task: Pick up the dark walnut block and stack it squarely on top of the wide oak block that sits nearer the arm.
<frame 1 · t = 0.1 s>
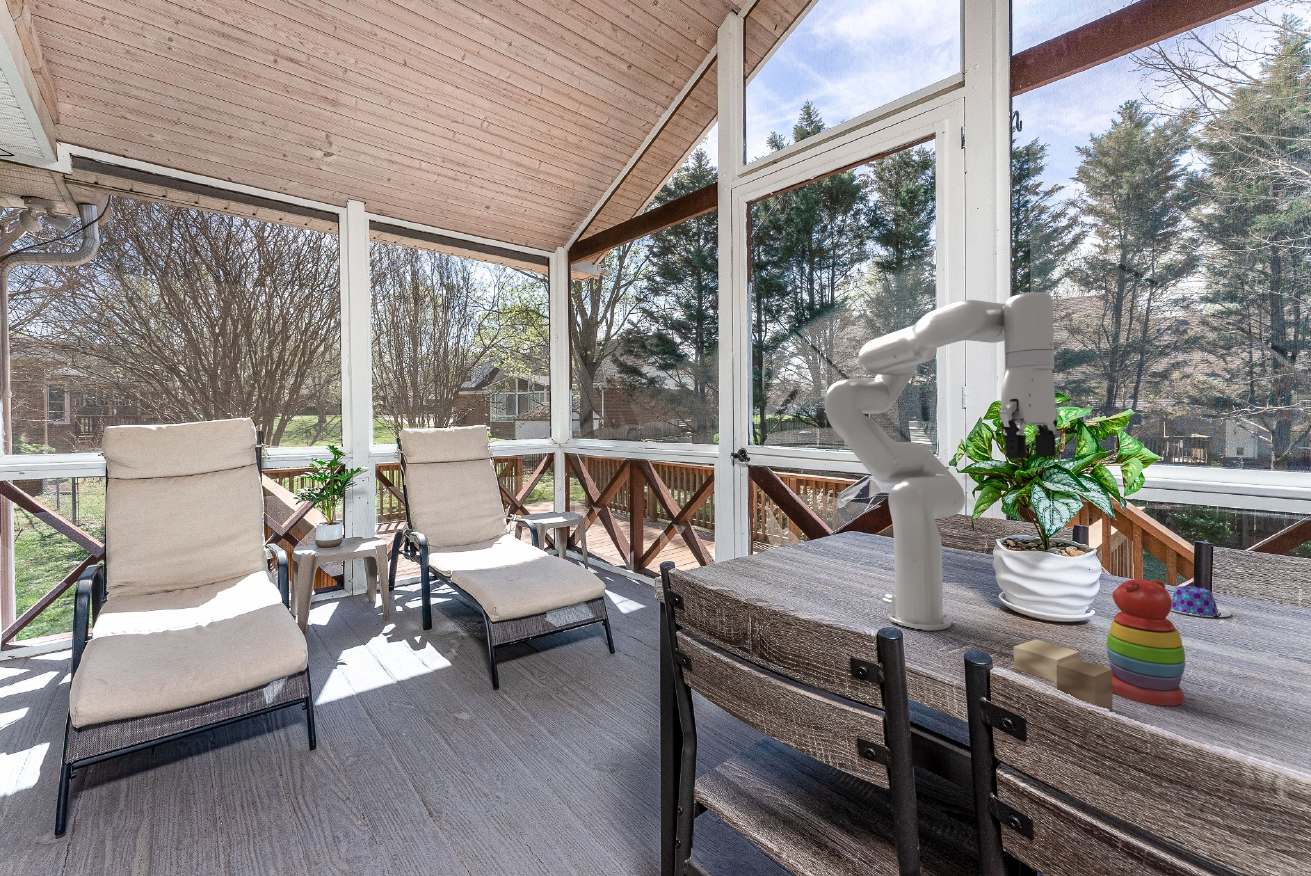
hand: (1031, 456, 105), 37 cm above the table, tool pointing down, fingers open, 9 cm apart
walnut block: (1084, 706, 86), on the table
stacking bear: (1143, 693, 91), on the table
oak block: (1046, 672, 99), on the table
blue patterned hat: (1193, 612, 130), on the table
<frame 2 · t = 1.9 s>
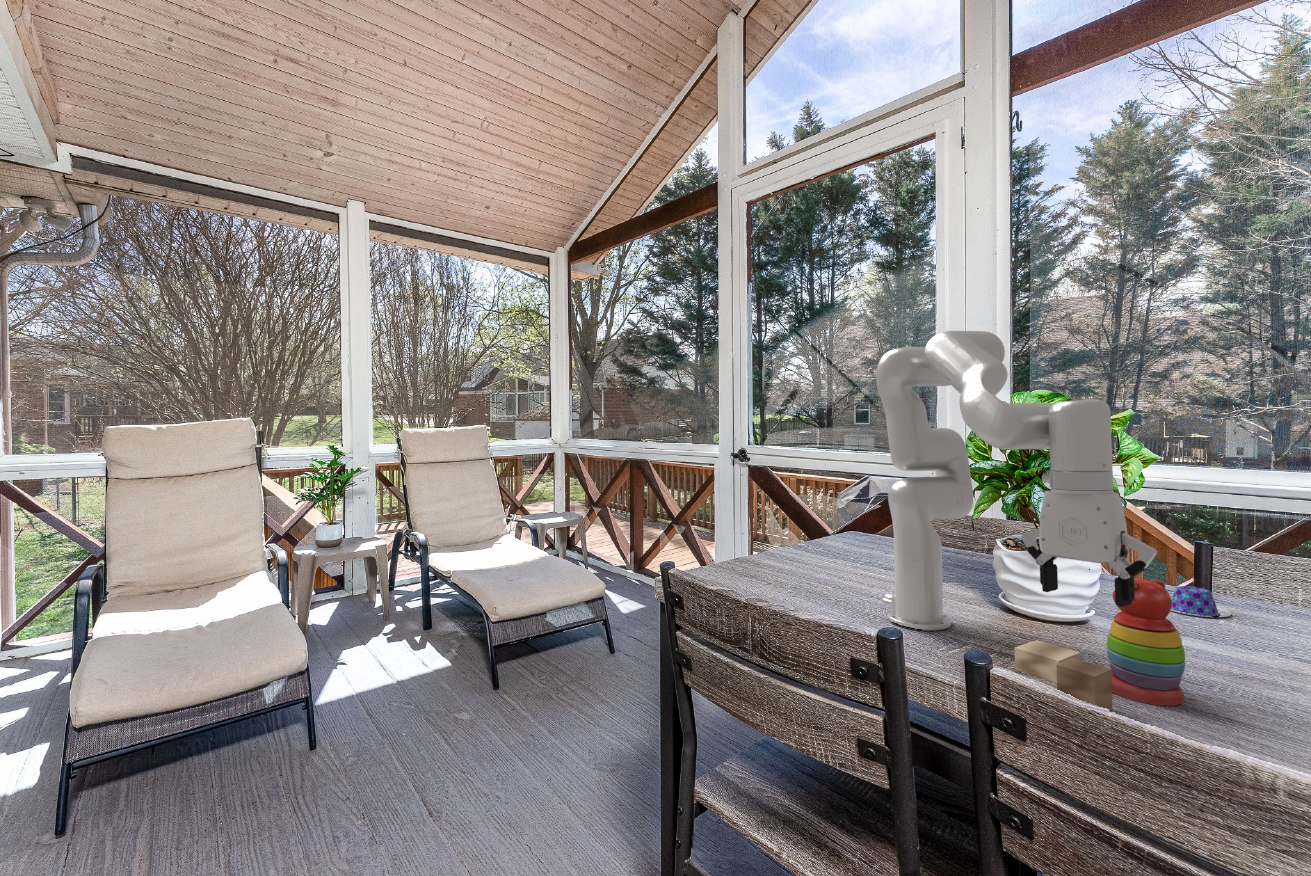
hand: (1085, 597, 86), 16 cm above the table, tool pointing down, fingers open, 9 cm apart
nothing on the table moved.
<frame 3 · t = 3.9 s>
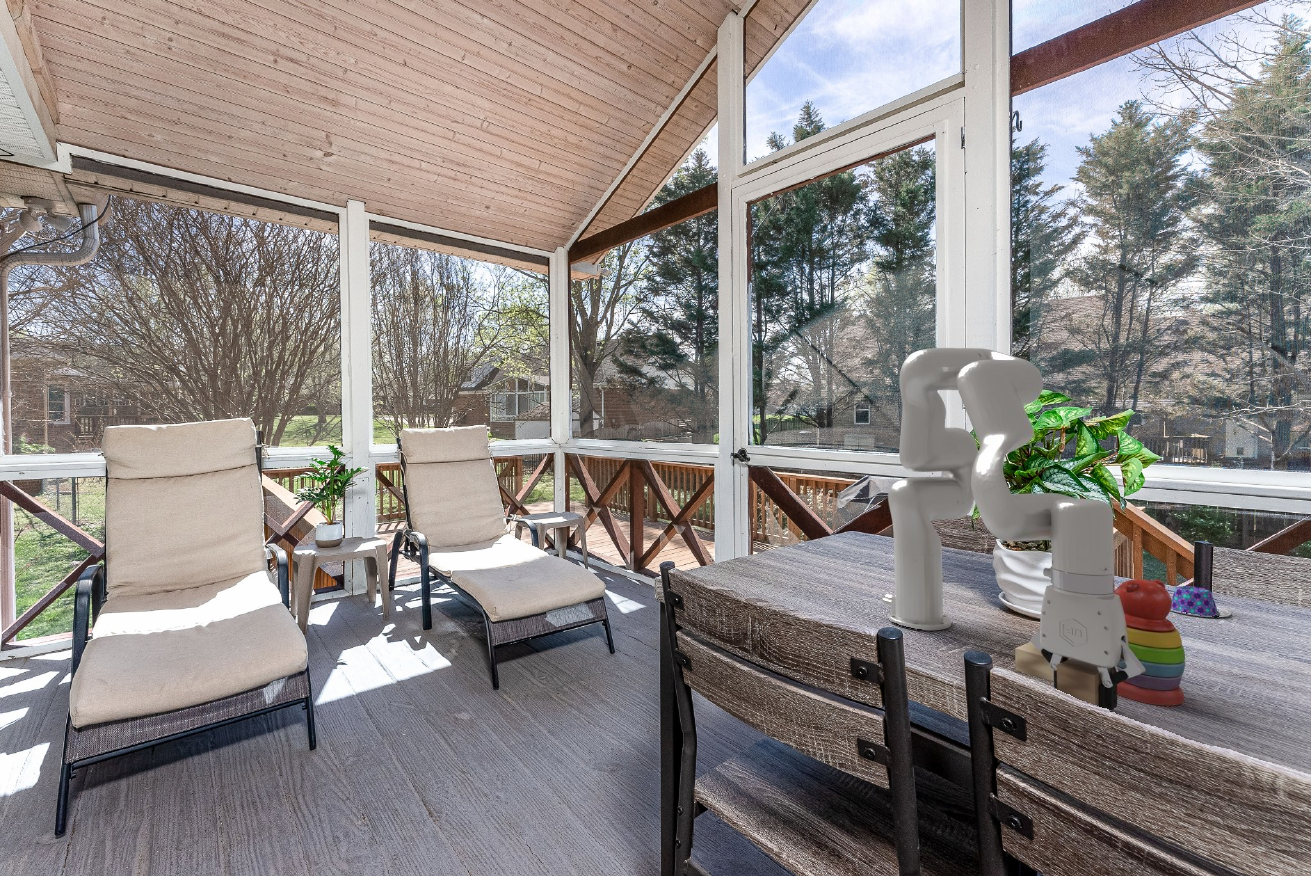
hand: (1084, 701, 86), 1 cm above the table, tool pointing down, fingers closed on walnut block, 5 cm apart
walnut block: (1084, 706, 86), on the table, touching gripper
everything else where it was.
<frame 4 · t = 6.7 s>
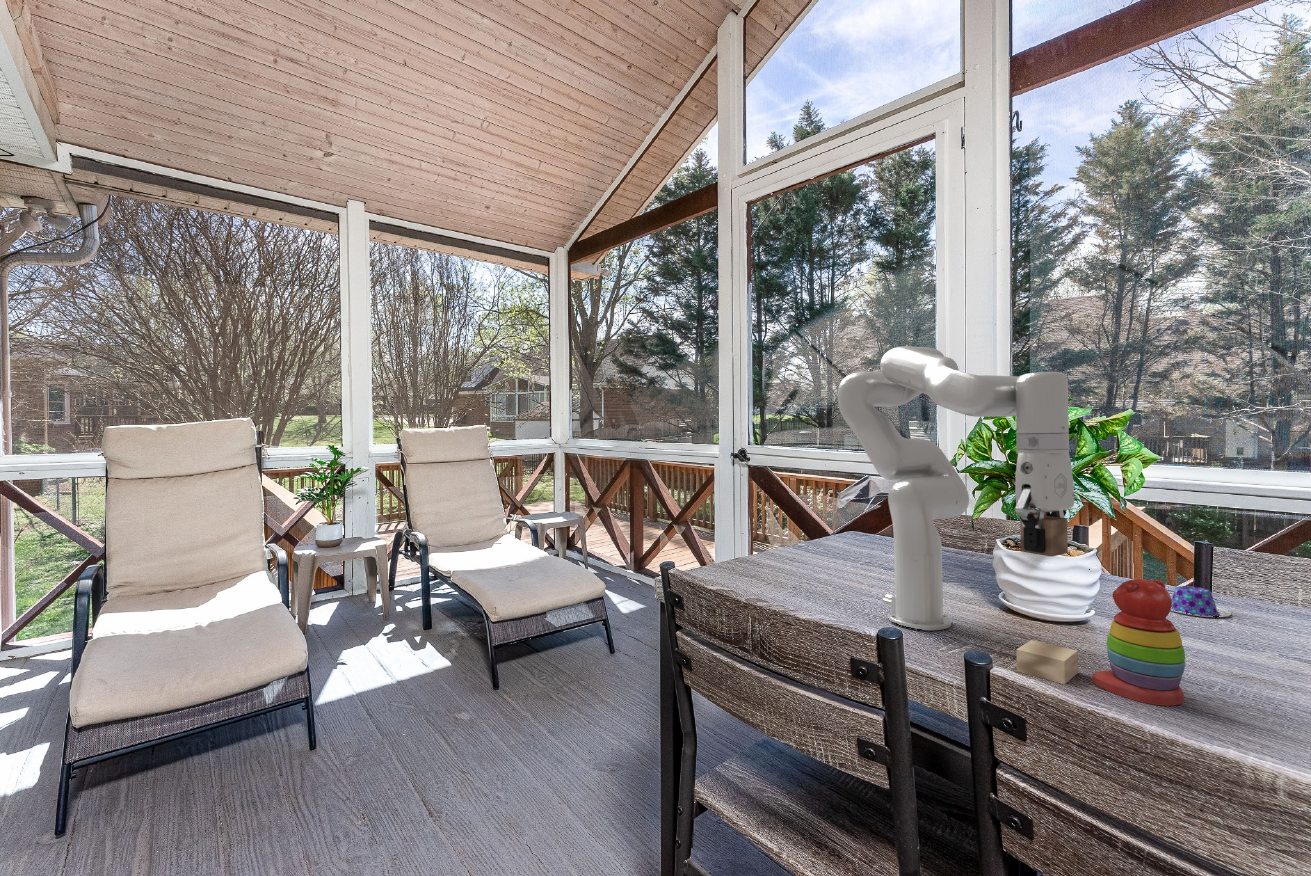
hand: (1043, 548, 99), 21 cm above the table, tool pointing down, fingers closed on walnut block, 5 cm apart
walnut block: (1043, 552, 99), point 20 cm above the table, touching gripper
everything else where it was.
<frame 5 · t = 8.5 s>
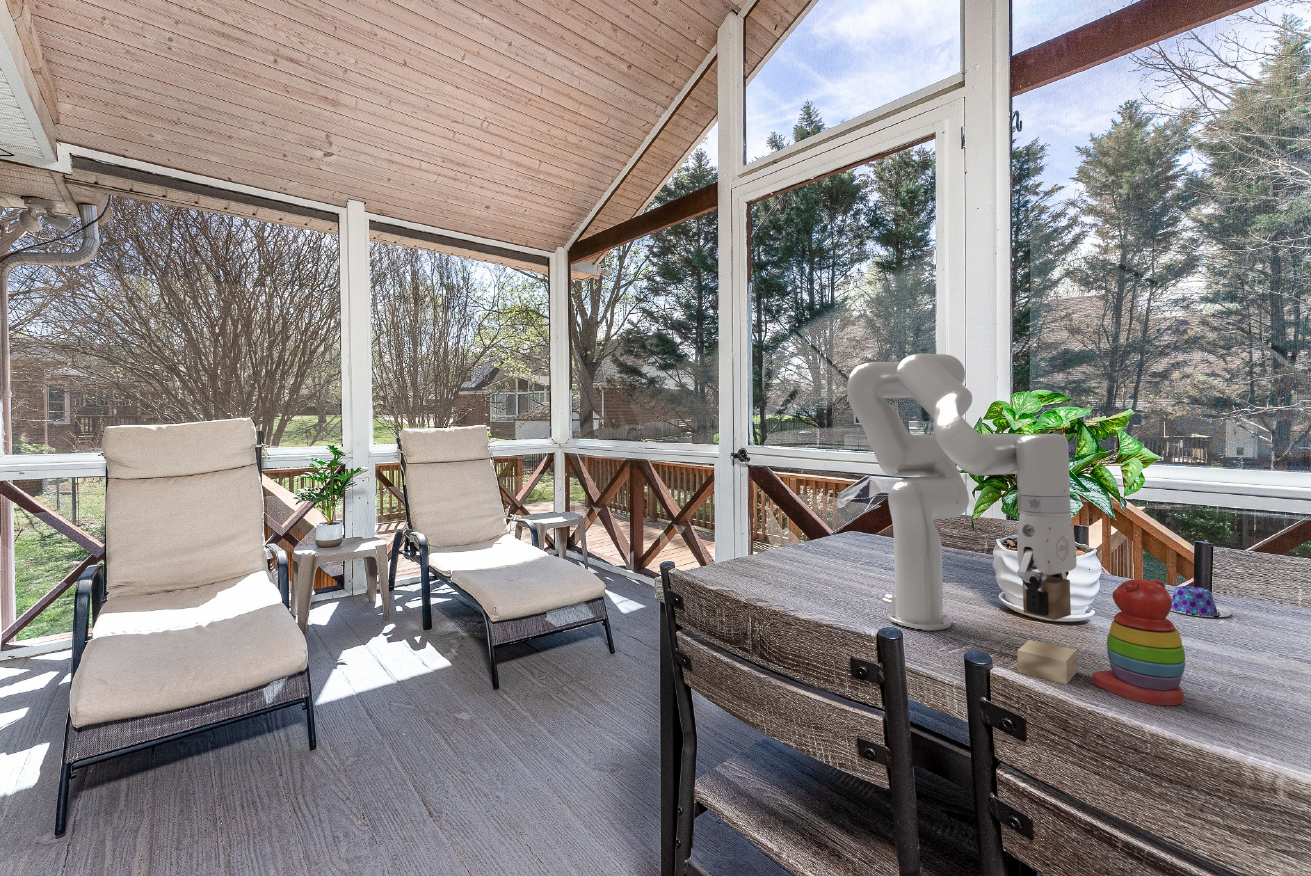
hand: (1046, 609, 99), 11 cm above the table, tool pointing down, fingers closed on walnut block, 5 cm apart
walnut block: (1046, 613, 99), point 10 cm above the table, touching gripper
everything else where it was.
when the fingers open (6 cm above the table, at t = 9.9 s): walnut block drops 1 cm, point 4 cm above the table.
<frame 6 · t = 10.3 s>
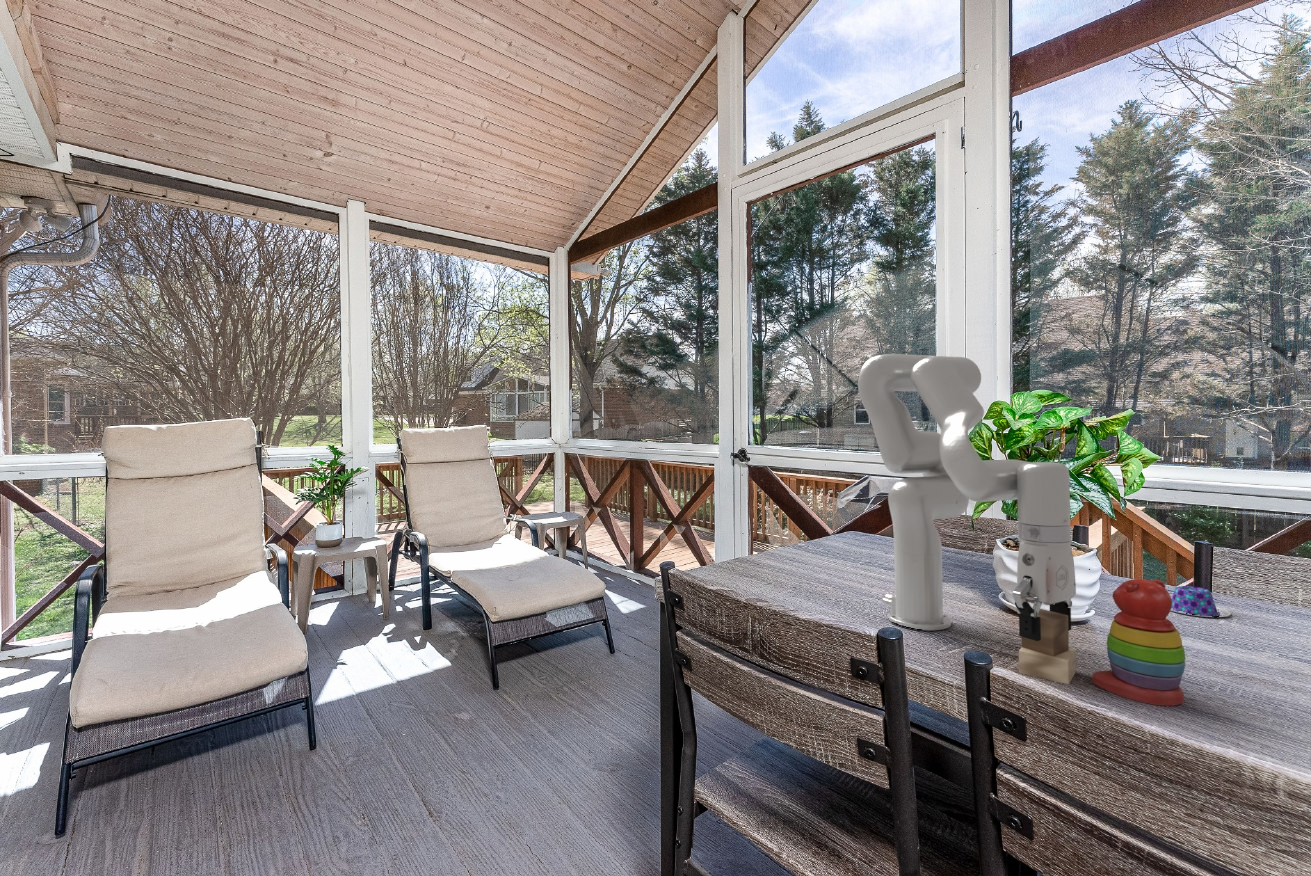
hand: (1045, 633, 99), 6 cm above the table, tool pointing down, fingers open, 9 cm apart
walnut block: (1045, 648, 99), point 4 cm above the table
everything else where it was.
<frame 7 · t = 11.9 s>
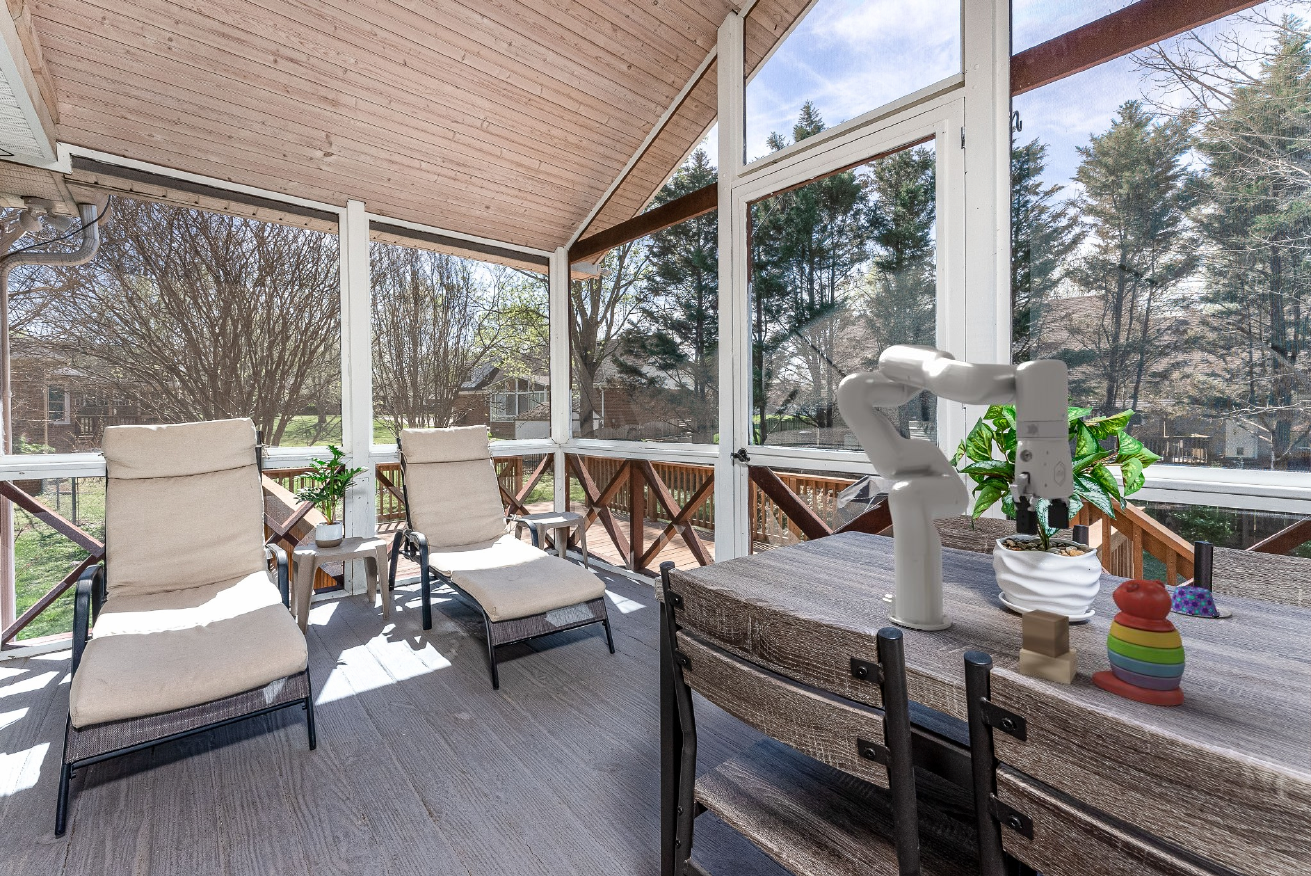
hand: (1043, 531, 99), 24 cm above the table, tool pointing down, fingers open, 9 cm apart
walnut block: (1045, 650, 99), point 4 cm above the table, touching oak block
oak block: (1048, 673, 99), on the table, touching walnut block
everything else where it was.
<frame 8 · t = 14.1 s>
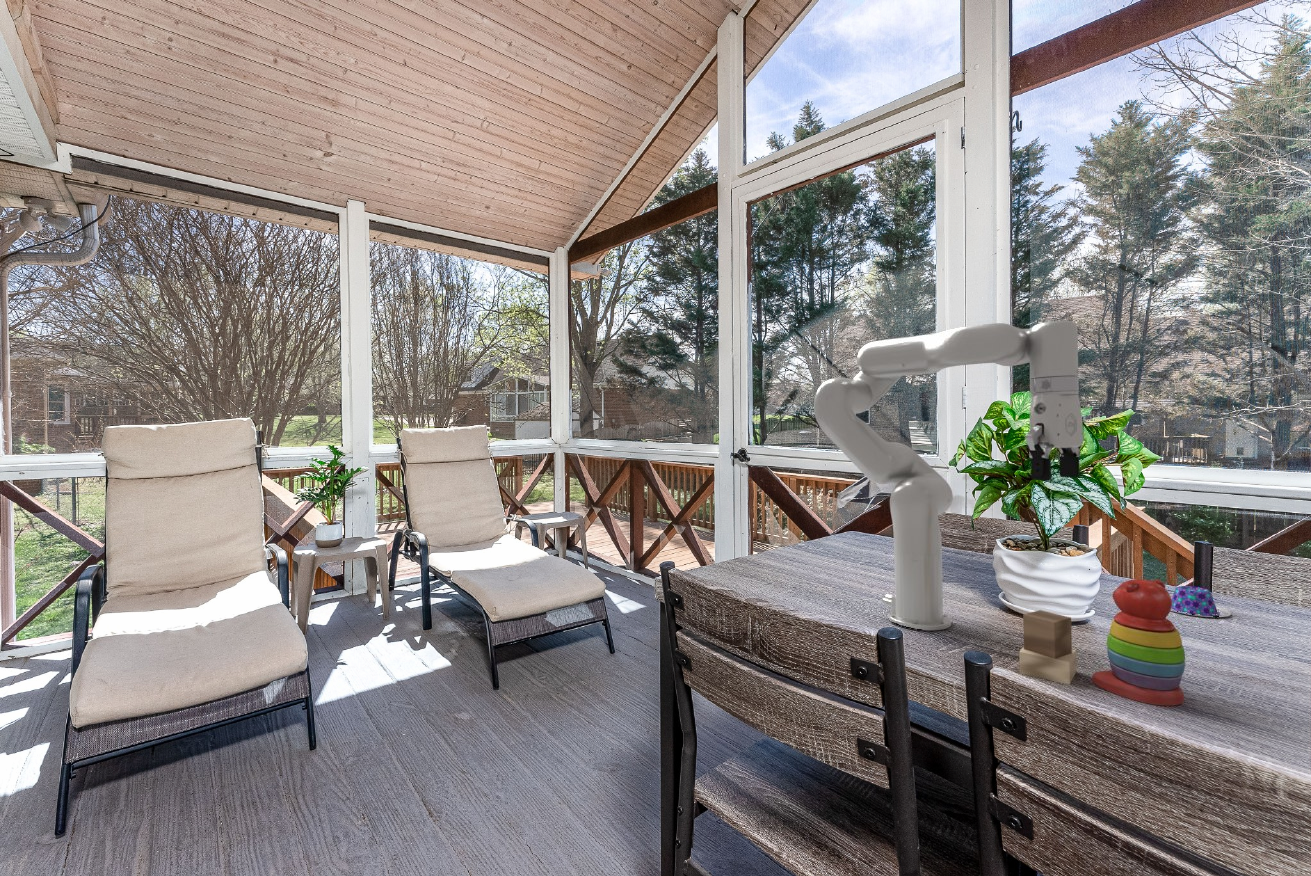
hand: (1055, 478, 108), 32 cm above the table, tool pointing down, fingers open, 9 cm apart
at the end: walnut block 0.2 cm off-centre on the oak block, point 4.0 cm above the oak block's base; walnut block tilted 0°; the gripper is holding nothing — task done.
